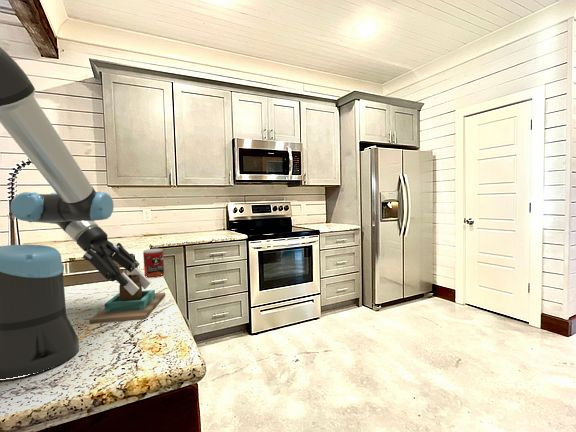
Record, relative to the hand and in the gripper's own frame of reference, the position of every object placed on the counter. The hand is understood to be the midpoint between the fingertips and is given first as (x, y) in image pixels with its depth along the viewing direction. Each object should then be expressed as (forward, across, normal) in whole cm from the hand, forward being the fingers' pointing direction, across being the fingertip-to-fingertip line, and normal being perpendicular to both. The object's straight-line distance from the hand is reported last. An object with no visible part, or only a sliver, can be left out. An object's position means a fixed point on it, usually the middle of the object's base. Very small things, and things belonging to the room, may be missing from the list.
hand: (142, 288), depth 91 cm
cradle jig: (+2, 0, -7) cm, 7 cm away
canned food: (-9, -37, -18) cm, 42 cm away
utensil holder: (0, 0, -5) cm, 5 cm away
